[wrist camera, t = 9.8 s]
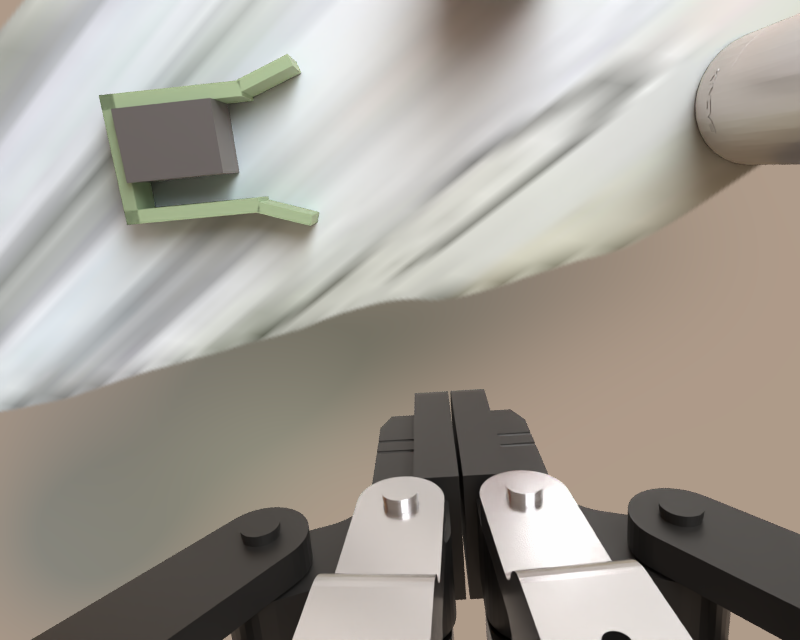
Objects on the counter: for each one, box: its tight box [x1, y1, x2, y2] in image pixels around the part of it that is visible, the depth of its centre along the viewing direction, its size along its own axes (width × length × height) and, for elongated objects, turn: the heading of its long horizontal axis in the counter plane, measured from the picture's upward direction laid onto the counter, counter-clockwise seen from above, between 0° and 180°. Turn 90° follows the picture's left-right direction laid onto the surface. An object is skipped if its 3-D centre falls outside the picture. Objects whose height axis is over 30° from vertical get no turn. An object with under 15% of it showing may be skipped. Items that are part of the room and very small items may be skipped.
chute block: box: [111, 98, 239, 183], centre depth 41 cm, size 7×5×4 cm
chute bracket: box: [99, 54, 319, 226], centre depth 41 cm, size 14×12×3 cm
